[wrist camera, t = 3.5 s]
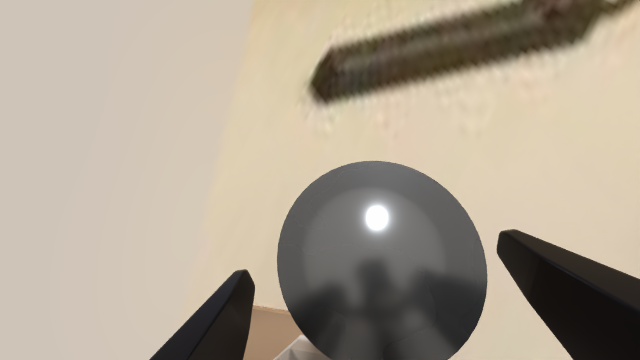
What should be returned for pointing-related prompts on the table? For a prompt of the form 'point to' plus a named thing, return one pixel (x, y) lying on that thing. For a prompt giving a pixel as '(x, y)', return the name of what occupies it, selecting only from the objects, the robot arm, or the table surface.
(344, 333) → the metal pin
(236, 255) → the table surface
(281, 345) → the bore block
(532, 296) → the robot arm
